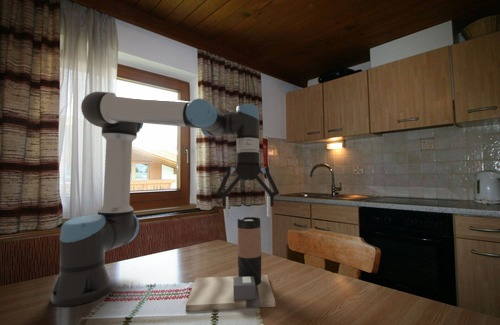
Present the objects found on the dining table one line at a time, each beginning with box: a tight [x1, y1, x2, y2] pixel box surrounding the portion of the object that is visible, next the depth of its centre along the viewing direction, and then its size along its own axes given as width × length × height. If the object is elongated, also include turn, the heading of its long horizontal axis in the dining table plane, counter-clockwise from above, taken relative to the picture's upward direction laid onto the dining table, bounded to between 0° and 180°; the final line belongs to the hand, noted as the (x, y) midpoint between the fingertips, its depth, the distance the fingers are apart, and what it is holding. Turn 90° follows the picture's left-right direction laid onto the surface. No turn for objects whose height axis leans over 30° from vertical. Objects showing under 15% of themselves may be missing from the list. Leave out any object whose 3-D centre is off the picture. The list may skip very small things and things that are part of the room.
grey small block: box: [233, 276, 256, 301], centre depth 71 cm, size 6×6×4 cm
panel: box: [185, 274, 276, 312], centre depth 76 cm, size 24×18×2 cm
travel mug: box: [236, 216, 262, 286], centre depth 81 cm, size 8×8×20 cm
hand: (248, 216), depth 82 cm, fingers open, 13 cm apart
